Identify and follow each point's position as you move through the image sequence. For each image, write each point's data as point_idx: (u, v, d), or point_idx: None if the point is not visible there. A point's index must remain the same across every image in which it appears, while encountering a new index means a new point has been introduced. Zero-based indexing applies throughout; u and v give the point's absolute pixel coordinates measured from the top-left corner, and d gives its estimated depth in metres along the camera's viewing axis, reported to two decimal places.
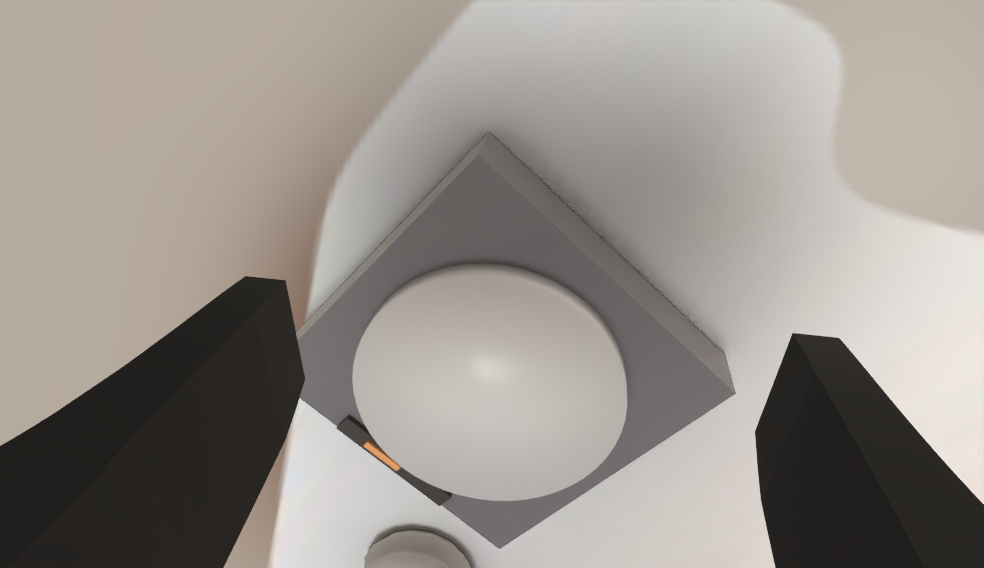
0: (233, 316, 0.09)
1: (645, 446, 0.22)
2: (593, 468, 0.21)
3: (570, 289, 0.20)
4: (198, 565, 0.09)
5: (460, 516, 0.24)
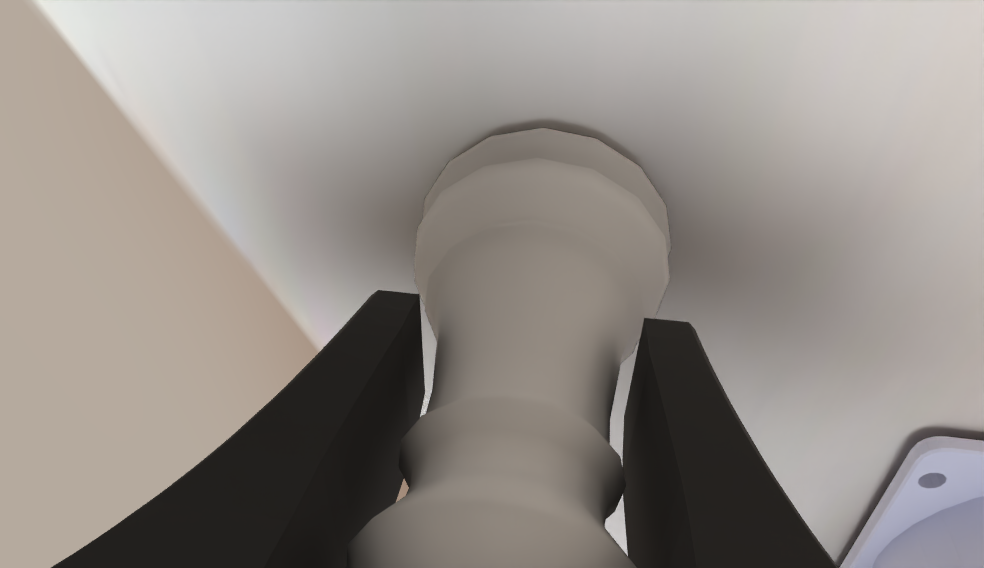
0: (382, 333, 0.09)
1: None
2: None
3: None
4: None
5: None
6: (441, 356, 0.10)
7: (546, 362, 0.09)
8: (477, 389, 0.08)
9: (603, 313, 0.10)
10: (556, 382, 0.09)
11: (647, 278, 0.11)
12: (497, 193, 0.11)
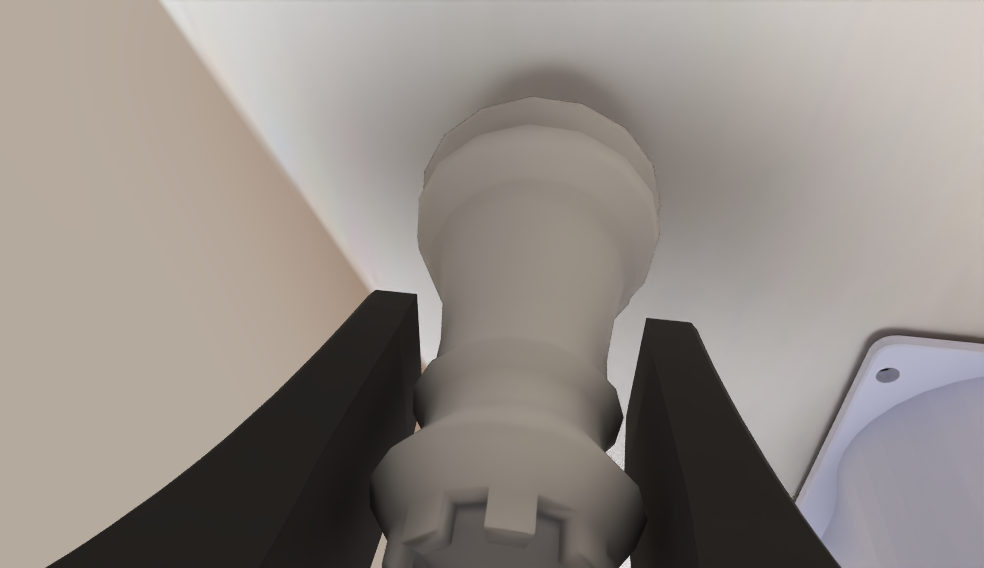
0: (379, 332, 0.09)
1: None
2: None
3: None
4: None
5: None
6: (446, 312, 0.10)
7: (544, 308, 0.09)
8: (481, 334, 0.09)
9: (596, 264, 0.11)
10: (553, 324, 0.09)
11: (638, 232, 0.12)
12: (492, 158, 0.11)
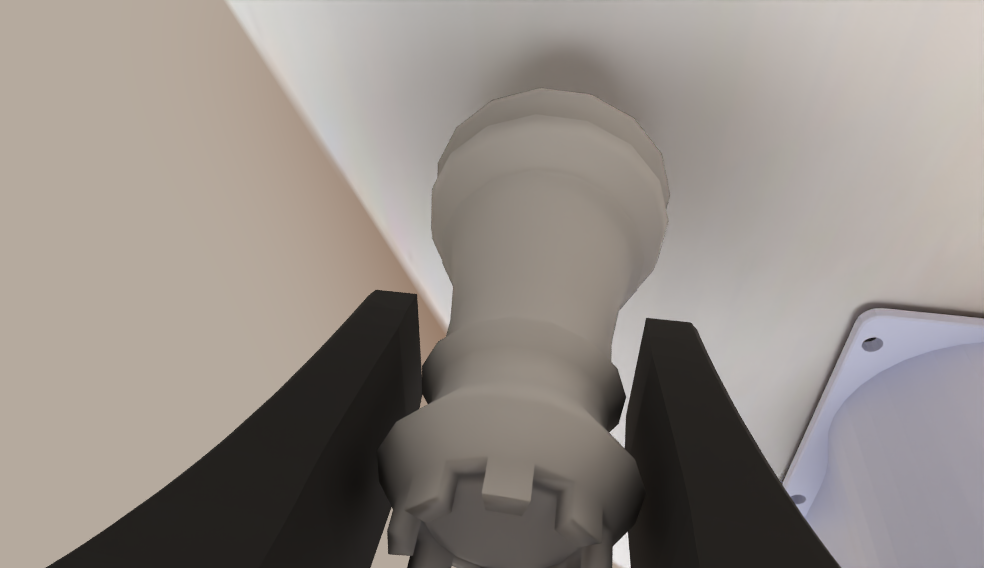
0: (380, 332, 0.09)
1: None
2: None
3: None
4: None
5: None
6: (455, 295, 0.11)
7: (547, 290, 0.10)
8: (486, 316, 0.09)
9: (601, 249, 0.11)
10: (556, 306, 0.10)
11: (645, 219, 0.12)
12: (500, 148, 0.12)
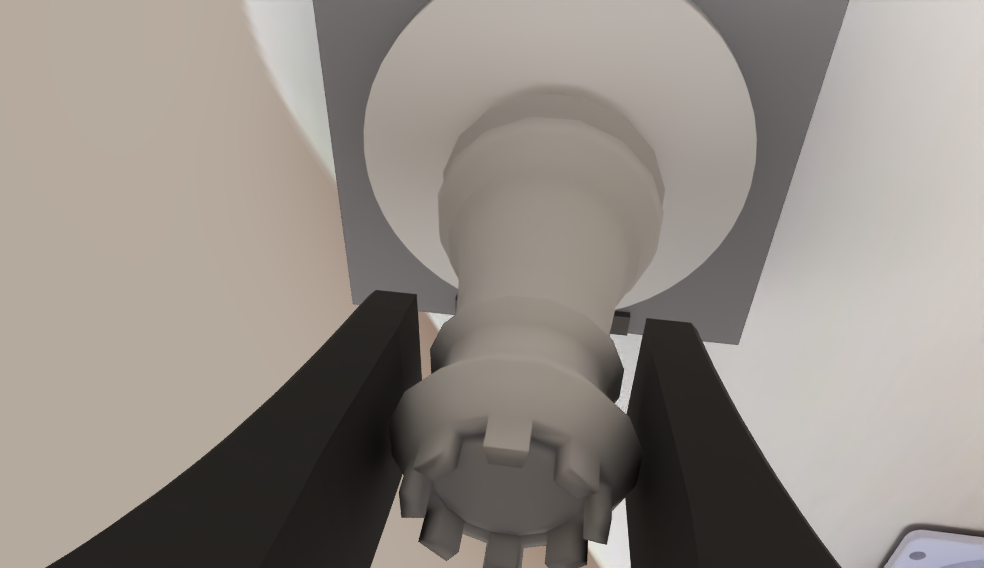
0: (379, 333, 0.09)
1: (810, 88, 0.14)
2: (752, 163, 0.14)
3: None
4: None
5: None
6: (461, 287, 0.11)
7: (545, 272, 0.10)
8: (488, 298, 0.10)
9: (597, 237, 0.11)
10: (554, 286, 0.10)
11: (640, 210, 0.13)
12: (498, 150, 0.12)
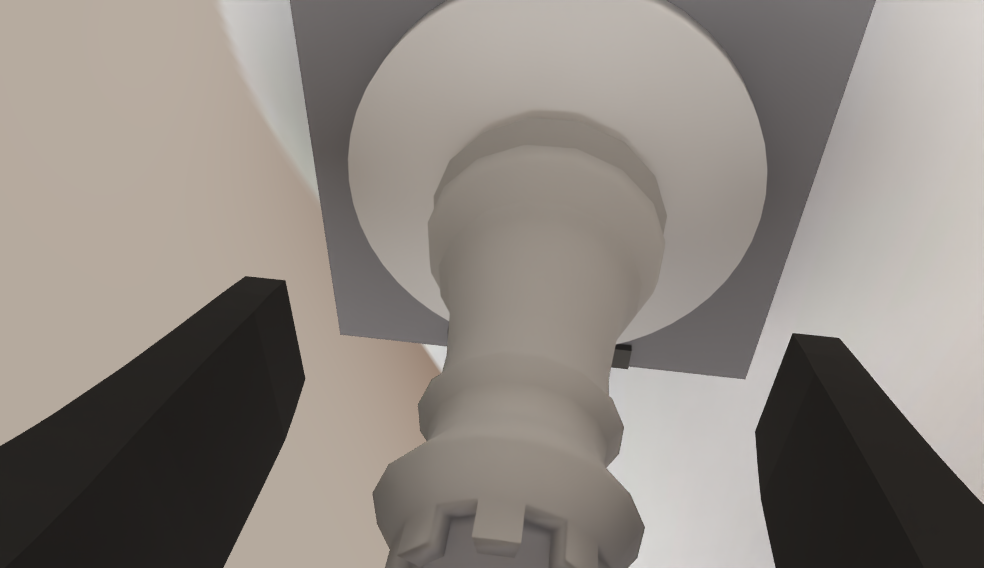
0: (234, 316, 0.09)
1: (825, 115, 0.13)
2: (762, 195, 0.13)
3: None
4: (198, 565, 0.09)
5: (667, 367, 0.17)
6: (451, 331, 0.11)
7: (540, 322, 0.10)
8: (479, 352, 0.09)
9: (595, 278, 0.11)
10: (550, 339, 0.09)
11: (640, 243, 0.12)
12: (490, 180, 0.12)
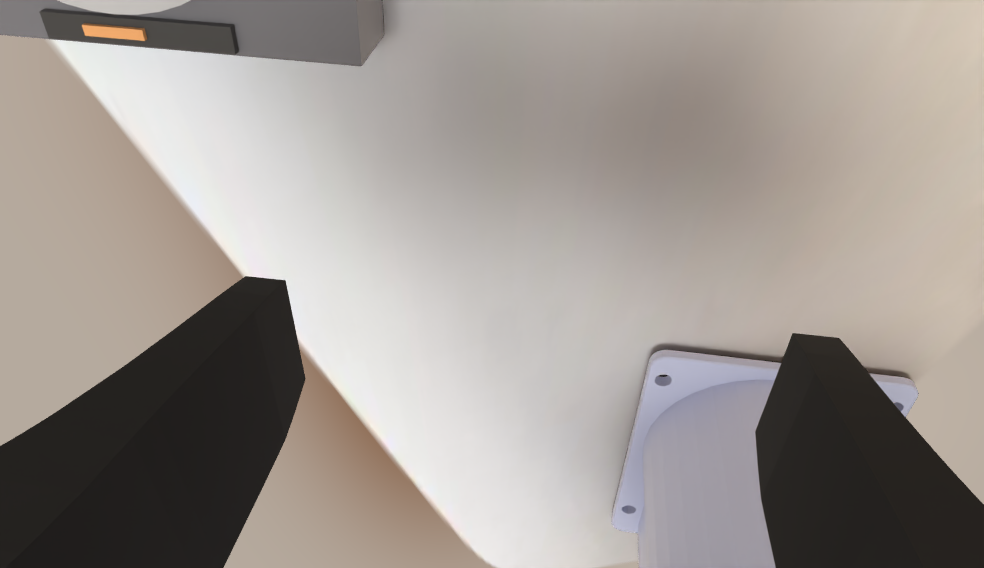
0: (233, 316, 0.09)
1: None
2: None
3: None
4: (198, 565, 0.09)
5: (283, 57, 0.16)
6: None
7: None
8: None
9: None
10: None
11: None
12: None
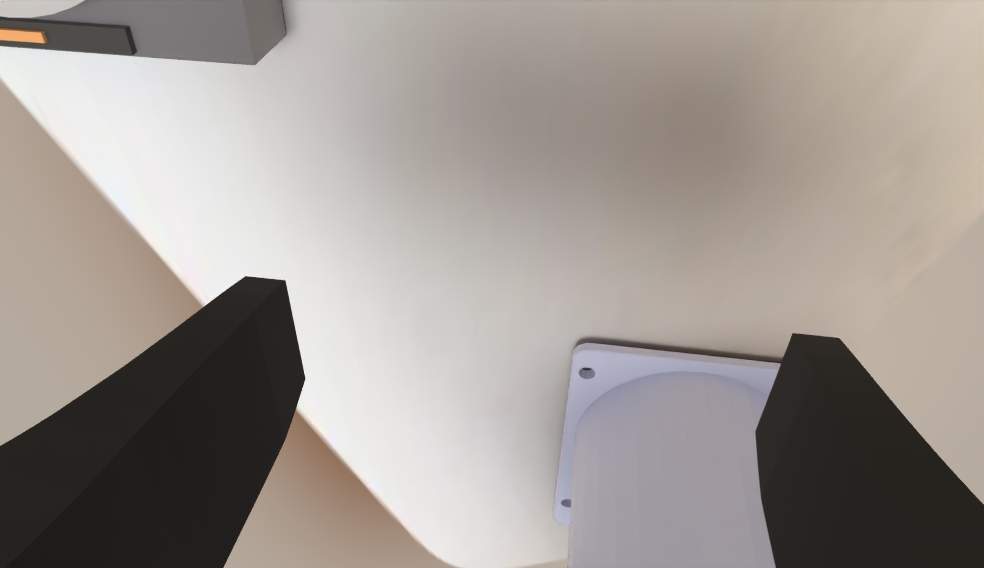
0: (233, 316, 0.09)
1: None
2: None
3: None
4: (198, 565, 0.09)
5: (179, 57, 0.17)
6: None
7: None
8: None
9: None
10: None
11: None
12: None
